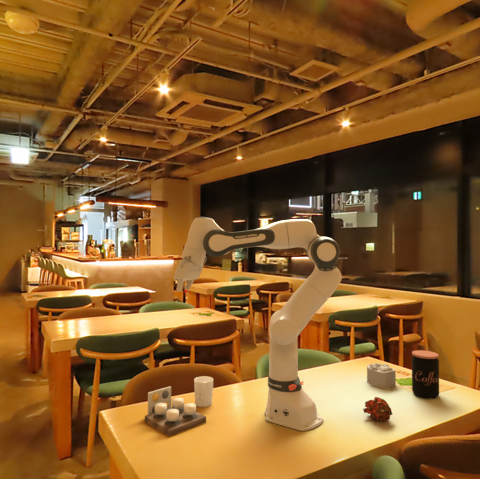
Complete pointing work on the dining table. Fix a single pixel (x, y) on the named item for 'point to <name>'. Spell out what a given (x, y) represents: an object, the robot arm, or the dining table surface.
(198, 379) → the white cup
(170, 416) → the button
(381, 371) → the grey toy brick
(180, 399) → the button
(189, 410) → the button
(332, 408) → the dining table surface
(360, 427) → the dining table surface
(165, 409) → the button
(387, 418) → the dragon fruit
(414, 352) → the coffee jar
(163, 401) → the card
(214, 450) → the dining table surface
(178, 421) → the board
